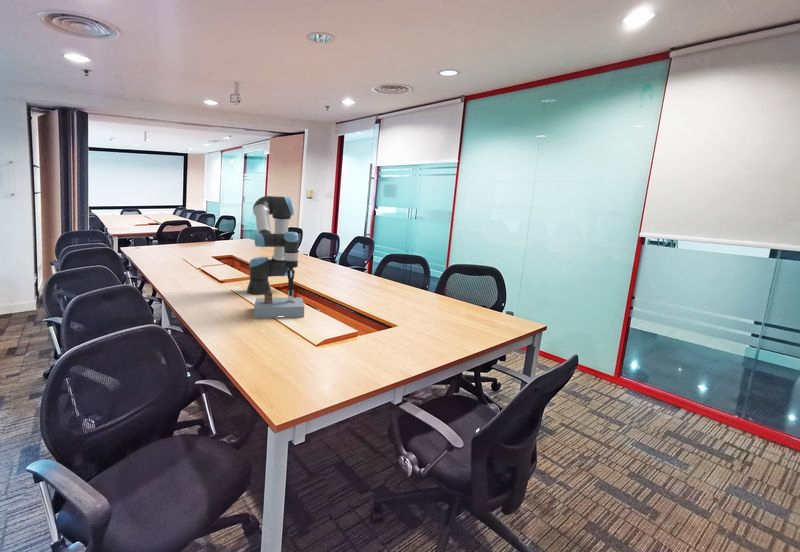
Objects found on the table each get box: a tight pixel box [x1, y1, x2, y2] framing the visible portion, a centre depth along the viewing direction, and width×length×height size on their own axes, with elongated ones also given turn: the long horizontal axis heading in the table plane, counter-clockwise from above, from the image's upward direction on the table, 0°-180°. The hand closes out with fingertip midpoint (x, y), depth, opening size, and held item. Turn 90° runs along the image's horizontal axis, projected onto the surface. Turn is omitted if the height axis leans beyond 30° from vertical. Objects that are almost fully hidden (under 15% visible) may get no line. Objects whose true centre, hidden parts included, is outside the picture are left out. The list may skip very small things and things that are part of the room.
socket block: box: [253, 296, 305, 319], centre depth 224 cm, size 20×26×6 cm
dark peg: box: [263, 292, 273, 304], centre depth 222 cm, size 4×4×6 cm
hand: (290, 300), depth 225 cm, fingers closed
